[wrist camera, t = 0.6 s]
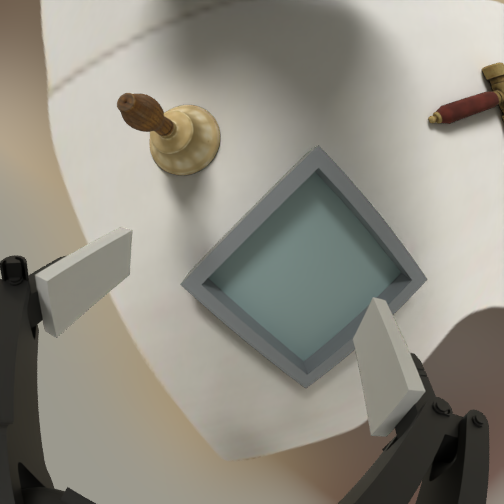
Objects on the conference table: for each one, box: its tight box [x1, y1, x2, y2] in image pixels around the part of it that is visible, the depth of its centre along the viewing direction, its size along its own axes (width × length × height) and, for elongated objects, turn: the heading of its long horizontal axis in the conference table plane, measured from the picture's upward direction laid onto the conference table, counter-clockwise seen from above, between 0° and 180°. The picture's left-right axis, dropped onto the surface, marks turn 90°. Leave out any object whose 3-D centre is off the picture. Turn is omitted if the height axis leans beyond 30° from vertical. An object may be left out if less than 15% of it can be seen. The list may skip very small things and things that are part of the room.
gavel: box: [428, 63, 504, 124], centre depth 27 cm, size 21×5×10 cm
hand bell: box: [117, 93, 220, 175], centre depth 23 cm, size 8×8×16 cm
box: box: [180, 145, 427, 388], centre depth 32 cm, size 20×20×4 cm
